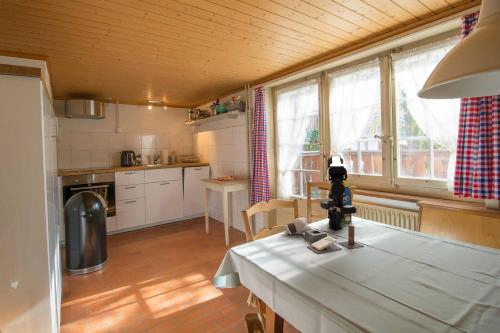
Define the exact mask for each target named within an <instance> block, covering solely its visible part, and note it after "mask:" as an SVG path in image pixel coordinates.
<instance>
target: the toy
mask: <svg viewBox="0 0 500 333" xmlns="http://www.w3.org/2000/svg"><path fill="white" fill-rule="evenodd" d="M282 230H285V231H284V234H287V235H293V234H298V235H299V236H301V235H303V234H305V231H308V230H314V229H313V228H312V227H310V226H309V224H307V218H306V217H297V218H295V219H294V220H293V222H291V223H286V225H284V227H283V228H282Z"/></svg>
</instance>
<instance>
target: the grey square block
mask: <svg viewBox="0 0 500 333" xmlns="http://www.w3.org/2000/svg"><path fill="white" fill-rule="evenodd" d="M327 236H328V233H327V232H324V231H323V230H321V229H319V228H316V229H313V230H308V231H305V233H304V239H305V240H307V241H308V242H310V243H311V244H313V243H315V242H317V241H319V240H321V239H323V238H325V237H327Z"/></svg>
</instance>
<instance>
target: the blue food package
mask: <svg viewBox="0 0 500 333" xmlns="http://www.w3.org/2000/svg"><path fill="white" fill-rule="evenodd" d="M344 187H345V192H344V194H346V196H345V197H344V203H346V205H343V206H348V205H350V206H353V205H352V204H353V203H352V192H351V189H350V187H349V182H344ZM329 194H331V189H330V190H329V193H328V195H329ZM352 214H353V213H352ZM352 214H344V219H342V225H346V224H351V223H352V222H353V220H352V219H353V218H352ZM329 216H330V215H329Z"/></svg>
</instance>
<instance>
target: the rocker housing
mask: <svg viewBox="0 0 500 333" xmlns="http://www.w3.org/2000/svg"><path fill="white" fill-rule="evenodd" d="M306 248H308V249H309V250H311V251H312V252H314V253H315V254H318V255H320V254H326V253H331V252H332V253H333V252H335V251H336V252H337V251H342V250H343V248H342V247H340V246H338V245H337V244H335V243H334V244H332V245H330V246H328V247H326V248H324V249H322V250H320V251H319V250H317V249H316V248H314V247H312V245H306Z"/></svg>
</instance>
